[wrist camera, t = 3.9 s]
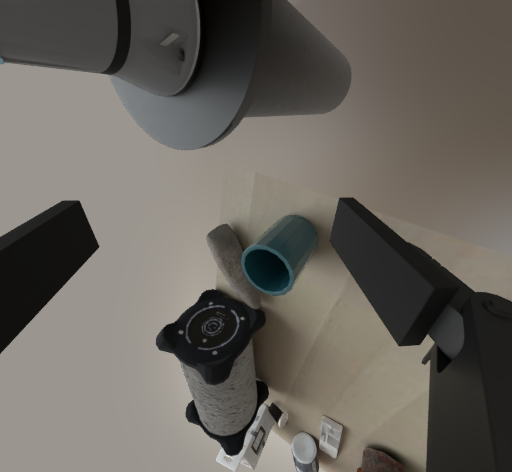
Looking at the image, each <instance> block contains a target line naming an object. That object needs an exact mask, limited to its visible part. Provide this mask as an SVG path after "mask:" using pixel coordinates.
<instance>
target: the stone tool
mask: <svg viewBox="0 0 512 472" xmlns="http://www.w3.org/2000/svg"><path fill="white" fill-rule="evenodd" d="M207 243H208V246H209V248H210V250H211V252H212V255H213V257H214V259H215V261H216V262H217V264H218V266H219V268H220V270H221V271H222V273H223V275H224V276H225V278H226V279H227V281H228V282H229V283H230V285H231V286H232V287H233V289H234V290H235V291H236V292H237V293H238V295H239V296H240V297H241V298H242V300H243V301H244V302H245V303H246V304H247V305H248V306H250V307H251V308H253V309H258V308H259V307H260V306H261V299H260V294H259V291H258V289H257V288H255V287H254V286H253V285H252V284H251V283H250V282H249V281H248V279H247V278H246V276H245V274H244V273H243V269H242V265H241V259H242V254H243V253H244V251H243V249H242V247H241V245H240V243H239V241H238V239H237V237H236V235H235V233H234V232H233V230H232V229H231V227H230V226H229V225H228V224H223V225H220V226H218V227H216V228H215V229H214V230H212V231H211V232H210V233H209V234H208V235H207Z"/></svg>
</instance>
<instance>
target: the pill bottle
mask: <svg viewBox="0 0 512 472" xmlns="http://www.w3.org/2000/svg"><path fill="white" fill-rule="evenodd" d="M292 453H293V458H294V462H295V466H296V470H297V472H318V471H319V461H318V454H317V447H316V443H315V441H314V439H313V438H312V437H311V436H310V435H309V434H307V433H303V432H301V433H298V434H296V435H295V437H294V438H293V441H292Z"/></svg>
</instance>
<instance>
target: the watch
mask: <svg viewBox="0 0 512 472" xmlns="http://www.w3.org/2000/svg"><path fill="white" fill-rule="evenodd" d="M268 410H269V412H270V414H271V415H272V417H273V418H274V419H275V420H276V422H277V423H278V426H279V427H280V428H284V426H285V425H286V423H287V420H288V414H287V413H282V411H281V410H280V409H279V408H278V407H277V406H276V405H275V404H274V403H272V404H271V406H270V407H269V409H268Z"/></svg>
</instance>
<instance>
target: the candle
mask: <svg viewBox="0 0 512 472" xmlns="http://www.w3.org/2000/svg"><path fill="white" fill-rule="evenodd" d="M361 472H407V471H406V469H405V467H404V466H403V465H402V464H401V463H399V462H397V461H396V460H394V459H392V458H391V457H390V456H388V455H387V454H385V453H384V452H381V451H378V450H374V449H371V448H364V450H363V458H362V466H361Z"/></svg>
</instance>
